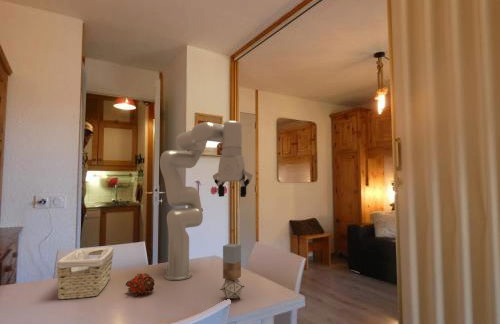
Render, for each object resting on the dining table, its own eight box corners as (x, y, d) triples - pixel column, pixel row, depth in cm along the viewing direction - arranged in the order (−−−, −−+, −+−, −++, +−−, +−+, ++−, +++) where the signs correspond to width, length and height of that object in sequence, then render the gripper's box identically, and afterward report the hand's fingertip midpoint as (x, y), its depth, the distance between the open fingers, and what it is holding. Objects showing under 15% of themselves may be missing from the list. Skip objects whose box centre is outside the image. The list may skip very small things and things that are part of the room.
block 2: (222, 278, 110) (223, 262, 110) (229, 274, 114) (229, 259, 114) (234, 280, 107) (234, 263, 108) (240, 276, 112) (240, 260, 112)
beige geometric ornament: (235, 310, 108) (240, 294, 103) (215, 300, 110) (218, 284, 105) (244, 291, 116) (249, 275, 111) (225, 282, 118) (228, 266, 112)
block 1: (222, 262, 110) (222, 246, 110) (229, 259, 114) (229, 243, 115) (234, 263, 108) (234, 247, 108) (240, 260, 112) (240, 244, 113)
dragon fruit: (155, 299, 113) (127, 302, 115) (161, 280, 121) (135, 283, 122) (146, 286, 109) (117, 289, 111) (154, 267, 116) (126, 270, 118)
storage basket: (74, 281, 131) (76, 247, 132) (114, 278, 135) (115, 246, 136) (53, 302, 108) (54, 261, 109) (101, 298, 112) (102, 258, 113)
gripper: (208, 153, 115) (208, 196, 114) (247, 150, 107) (247, 197, 106) (218, 154, 122) (218, 196, 120) (256, 152, 114) (256, 196, 113)
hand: (232, 196), depth 113 cm, fingers open, 9 cm apart
